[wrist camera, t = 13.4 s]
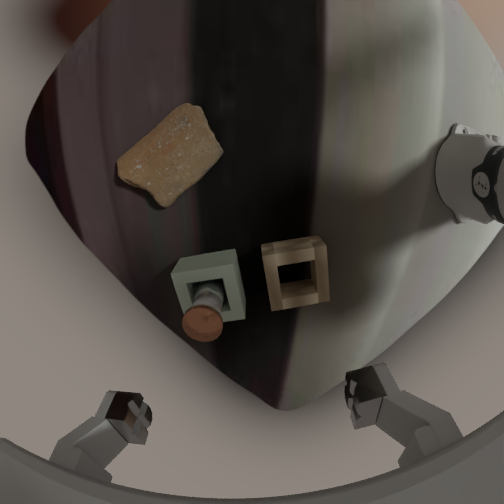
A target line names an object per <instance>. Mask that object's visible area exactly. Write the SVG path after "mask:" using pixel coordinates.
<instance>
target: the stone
mask: <svg viewBox="0 0 504 504" xmlns="http://www.w3.org/2000/svg"><path fill="white" fill-rule="evenodd" d="M222 154H223V150H222V148H221V147H220V144H219V143H218V142H217V140H216V138H215V135H214V133H213V132H212V131H211V130H210V127H209V126H208V121H207V119H206V117H205V116H204V113H203V111H202V108H201V107H200V106H193V105H190V104H189V103H184V104H182V105H180V106H179V107H177V108H175V109H174V110H173V111H172V112H171V113H170V114H169V115H168V116H167V117H165V118H164V119H163V120H162V121H161V122H160V123H159V124H158V125H157V126H156V127H155V128H154V129H153V130H152V131H151V132H150V133H149V134H148V135H146V136H145V137H143V138H142V139H141V140H140V141H139V142H138V143H136V144H135V145H134V146H133V147H132V148H131V149H130V150H128V151H127V152H126V153H125V154H123V155H122V156H121V157H120V158H119V159H118V161H117V166H118V176H119V177H120V178H121V180H123V181H124V182H126V183H128V184H129V185H131V186H134V187H140V188H142V189H143V190H147V191H148V192H149V193H150V194H151V196H152V197H153V198H154V199H155V200H156V202H157V203H158V204H159V205H160V206H162V207H165V208H167V207H169V206H171V205H172V204H173V203H174V201H175V200H176V199H177V197H178V196H179V195H180V194H181V193H183V192H184V191H185V190H186V189H188V188H189V187H191V186H192V185H194V184H195V183H196V182H197V181H199V180H200V179H201V178H202V177H203V176H204V175H205V173H206V172H207V171H208V170H209V169H210V168H211V167H212V166H213V165H214V164H215V163H216V161H217V160H218V159H219V158H220V156H221V155H222Z"/></svg>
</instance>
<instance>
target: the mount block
mask: <svg viewBox="0 0 504 504" xmlns="http://www.w3.org/2000/svg"><path fill="white" fill-rule="evenodd" d="M261 250H262V258H263V264H264V270H265V275H266V281H267V287H268V293H269V299H270V305H271V311H277V310H283V309H289V308H294V307H300V306H306V305H311V304H316V303H322V302H327V301H330V293H329V275H328V260H327V247H326V244H325V243H324V242H323V241H322V239H321V238H320V237H319V235H315V236H309V237H303V238H297V239H291V240H284V241H278V242H272V243H266V244H261ZM305 261H310V270H311V278H310V279H304V280H299V281H293V282H287V283H281V284H280V282H279V275H278V269H277V266H281V265H287V264H293V263H299V262H305Z"/></svg>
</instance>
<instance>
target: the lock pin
mask: <svg viewBox="0 0 504 504" xmlns="http://www.w3.org/2000/svg"><path fill="white" fill-rule="evenodd" d="M224 292H225V285H224V281H223V278H219V279H212V280H206V281H200V284H199V286H198V289H197V292H196V295H195V298H194V300H193V303H192V306H191V307H190V308H188V309H187V311H186V312H185V314H184V317H183V319H182V327H183V329H184V331H185V333H186V334H187V335H188V336H189V337H191V338H192V339H194V340H197V341H201V342H209V341H213V340H215V339H216V338H218V337H219V336H220V334H221V332H222V328H223V319H222V316H221V309H222V304H223V298H224Z"/></svg>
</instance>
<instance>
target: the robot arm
mask: <svg viewBox="0 0 504 504" xmlns="http://www.w3.org/2000/svg"><path fill="white" fill-rule="evenodd" d="M435 175H436V184H437V188H438V191H439V194H440V196H441V198H442V200H443V201H444V203H445V204H446V205H447V206H448V207H449V208H450V209H451V210H452V211H453V212H454V214H455V216H456V218H457V220H458V222H460V223H466V222H468V221H470V220H475V221H478V222H481V223H484V224H488V223H489V222H491V221H493V220H496V221H497V222H500V223H502V224H504V146H502V145H501V144H500V137H498V136H494V135H487V134H486V135H485V134H483V133H481V132H478V131H476V130H474V129H472V128H469V127H467V126H464V125H462V124H457V123H456V124H454V126H453V128H452V131H451V135H450V136H449V138H448V139H447V140H446V141H445V142H444V143H443V145H442V146H441V148H440V150H439V153H438V156H437V160H436V168H435ZM345 379H346V382H347V384H346V385H345V390H344V393H345V400H346V404H347V407H348V408H349V409H350V410H351V416H350V417H351V420H352V423H353V426H354V428H355V429H359V428H362V427H366V426H370V425H373V424H376V426H378V427H379V428H380V429H381V430H383V431H384V432H386V433H387V434H388V435H389V436H391V437H392V438H393V439H395V440H396V441H398V442H399V443H400V444H402V445H403V446H404V447H406V448H405V450H404V452H403V454H402V455H401V457H400V458H399V460H398V463H399V466H400V468H398V469H395V470H392V471H390V472H387V473H384V474H381V475H378V476H375V477H372V478H368V479H365V480H362V481H358V482H354V483H351V484H347V485H343V486H338V487H334V488H330V489H325V490H319V491H314V492H308V493H302V494H295V495H287V496H277V497H265V498H246V499H217V498H215V499H214V498H198V497H197V498H196V497H186V496H176V495H169V494H162V493H155V492H150V491H144V490H139V489H134V488H130V487H125V486H121V485H117V484H114V483H111V480H112V476H111V474H110V473H108V472H107V471H106V470H105V469H104V468H105V467H106V466H107V465H108V464H109V463H110V462H111V461H112V460H113V459H114V458H115V457H116V456H117V455H118V454H119V453H120V452H121V451H122V450H123V449H124V448H125V447H126V445H128V443H133V444H143V445H145V442H146V439H147V436H148V431H147V429H146V428H148V427H149V426H150V425H151V422H152V412H151V409H150V407H149V406H148V405H147V404H146V403H144V402H143V399H144V398H143V397H142V395H141V394H140V393H132V392H120V391H108V392H107V393H106V395H105V397H104V399H103V401H102V403H101V405H100V407H99V409H98V411H97V413H96V415H95V417H91V418H89V419H88V420H87V421H85V422H84V423H83V424H81V425H80V426H78V427H77V428H76V429H74V430H73V431H71V432H70V433H68V434H67V435H66V436H64V437H63V438H61V439H60V440H58V442H57V444H56V446H55V448H54V450H53V453H52V455H51V457H50V459H49V461H48V460H46V459H44V458H42V457H39V456H37V455H35V454H33V453H31V452H29V451H27V450H25V449H23V448H22V447H20V446H17V445H16V444H14V443H13V442H11V441H9V440H7V439H5V438H0V504H504V411H503V412H501V413H500V414H499V415H497V416H496V417H494V418H493V419H492V420H490V421H489V422H487V423H486V424H484V425H483V426H481V427H479V428H478V429H476V430H475V431H473V432H472V433H470V434H468V435H467V436H465V437H463V436H462V434H461V432H460V430H459V428H458V426H457V425H456V423H455V421H454V419H453V418H452V416H451V414H450V413H449V412H447V411H444V410H442V409H440V408H438V407H436V406H434V405H432V404H430V403H428V402H426V401H424V400H422V399H420V398H418V397H416V396H414V395H412V394H410V393H408V392H406V391H405V390H403V391H400V390H399V388H398V386H397V384H396V382H395V380H394V378H393V376H392V375H391V373H390V371H389V369H388V367H387V365H386V364H385V363H384V362H382V363H379V364H375V365H372V366H368V367H364V368H361V369H357V370H353V371H349V372H346V376H345Z"/></svg>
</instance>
